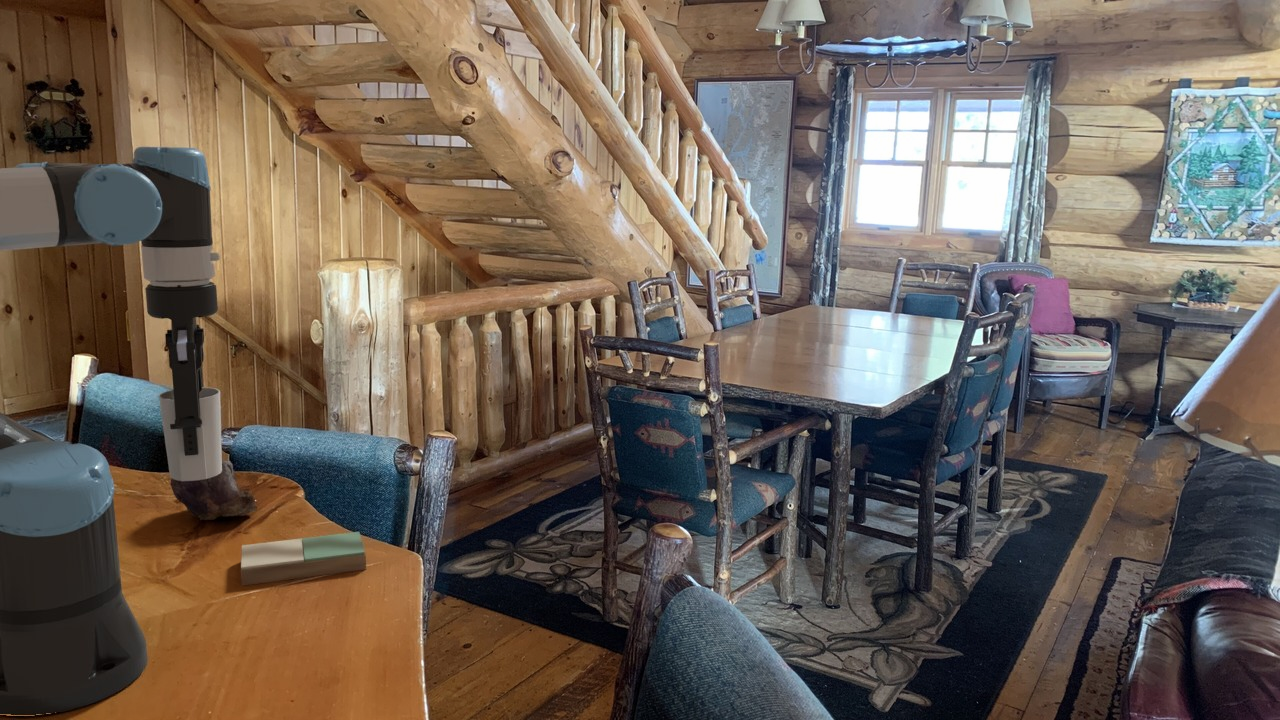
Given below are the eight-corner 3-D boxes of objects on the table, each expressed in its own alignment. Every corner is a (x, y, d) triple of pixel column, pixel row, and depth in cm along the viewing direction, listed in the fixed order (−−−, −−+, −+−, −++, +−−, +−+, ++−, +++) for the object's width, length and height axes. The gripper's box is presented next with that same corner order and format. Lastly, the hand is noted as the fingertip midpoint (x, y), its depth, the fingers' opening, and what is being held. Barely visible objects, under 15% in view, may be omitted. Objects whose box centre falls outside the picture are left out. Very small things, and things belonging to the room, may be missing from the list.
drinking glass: (209, 461, 121) (203, 384, 118) (236, 472, 116) (230, 393, 114) (155, 473, 115) (148, 393, 113) (182, 486, 111) (175, 403, 109)
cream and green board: (366, 569, 124) (365, 552, 124) (241, 585, 119) (240, 568, 118) (360, 546, 131) (359, 530, 131) (242, 560, 126) (241, 544, 125)
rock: (234, 506, 149) (163, 521, 142) (229, 450, 148) (157, 461, 141) (265, 516, 140) (190, 532, 133) (259, 456, 140) (184, 468, 132)
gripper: (212, 291, 104) (227, 492, 109) (218, 272, 121) (230, 447, 126) (135, 293, 101) (154, 499, 106) (152, 273, 118) (167, 452, 123)
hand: (195, 470), depth 116 cm, fingers closed on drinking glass, 6 cm apart
